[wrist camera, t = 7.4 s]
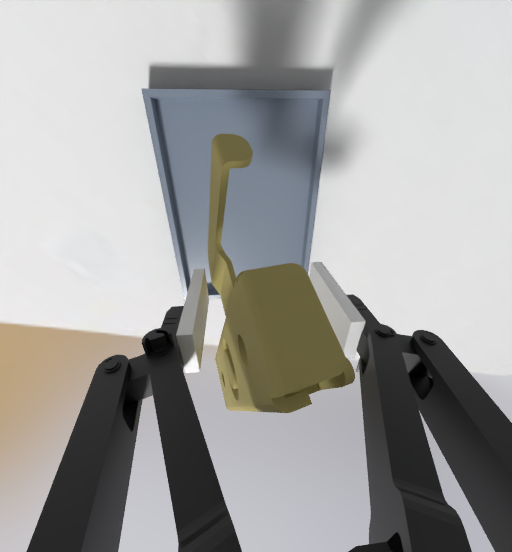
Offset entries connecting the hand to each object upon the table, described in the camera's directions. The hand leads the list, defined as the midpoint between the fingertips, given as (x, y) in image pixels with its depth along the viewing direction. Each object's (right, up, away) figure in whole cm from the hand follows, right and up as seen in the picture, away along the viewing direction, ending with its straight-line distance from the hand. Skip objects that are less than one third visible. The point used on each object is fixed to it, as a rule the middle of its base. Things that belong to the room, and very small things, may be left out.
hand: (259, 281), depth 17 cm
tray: (-2, +8, +11) cm, 14 cm away
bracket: (+3, 0, -3) cm, 4 cm away
